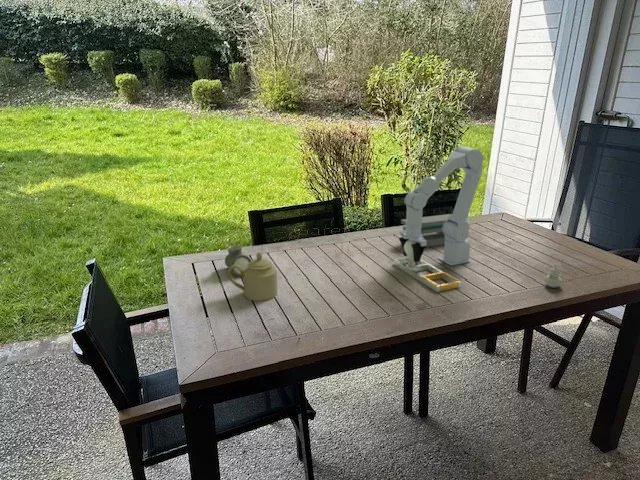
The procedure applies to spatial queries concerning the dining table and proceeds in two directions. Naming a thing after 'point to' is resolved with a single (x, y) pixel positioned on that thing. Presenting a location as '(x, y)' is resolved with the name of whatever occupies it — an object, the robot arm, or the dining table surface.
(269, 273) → the sugar bowl
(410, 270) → the rack
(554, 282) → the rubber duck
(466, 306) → the dining table surface
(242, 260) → the pipe fitting
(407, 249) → the lightbulb
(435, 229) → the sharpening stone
